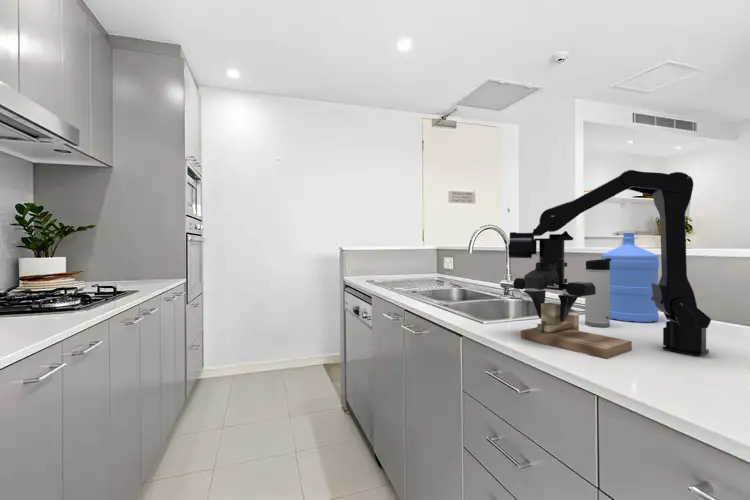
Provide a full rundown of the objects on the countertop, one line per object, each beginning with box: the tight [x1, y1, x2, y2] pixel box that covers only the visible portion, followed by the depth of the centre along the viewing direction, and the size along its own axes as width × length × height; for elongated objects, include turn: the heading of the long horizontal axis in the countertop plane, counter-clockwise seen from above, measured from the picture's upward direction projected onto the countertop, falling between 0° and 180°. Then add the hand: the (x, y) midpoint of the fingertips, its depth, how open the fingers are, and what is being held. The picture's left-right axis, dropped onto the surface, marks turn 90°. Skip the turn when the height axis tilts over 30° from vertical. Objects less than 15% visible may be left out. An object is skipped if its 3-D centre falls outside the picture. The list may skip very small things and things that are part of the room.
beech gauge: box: [536, 301, 580, 332], centre depth 92 cm, size 5×12×8 cm, turn 123°
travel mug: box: [584, 258, 611, 328], centre depth 106 cm, size 6×7×20 cm
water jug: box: [600, 232, 660, 323], centre depth 117 cm, size 16×16×28 cm
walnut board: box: [520, 326, 633, 360], centre depth 86 cm, size 20×12×2 cm, turn 33°
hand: (551, 319), depth 91 cm, fingers open, 5 cm apart
